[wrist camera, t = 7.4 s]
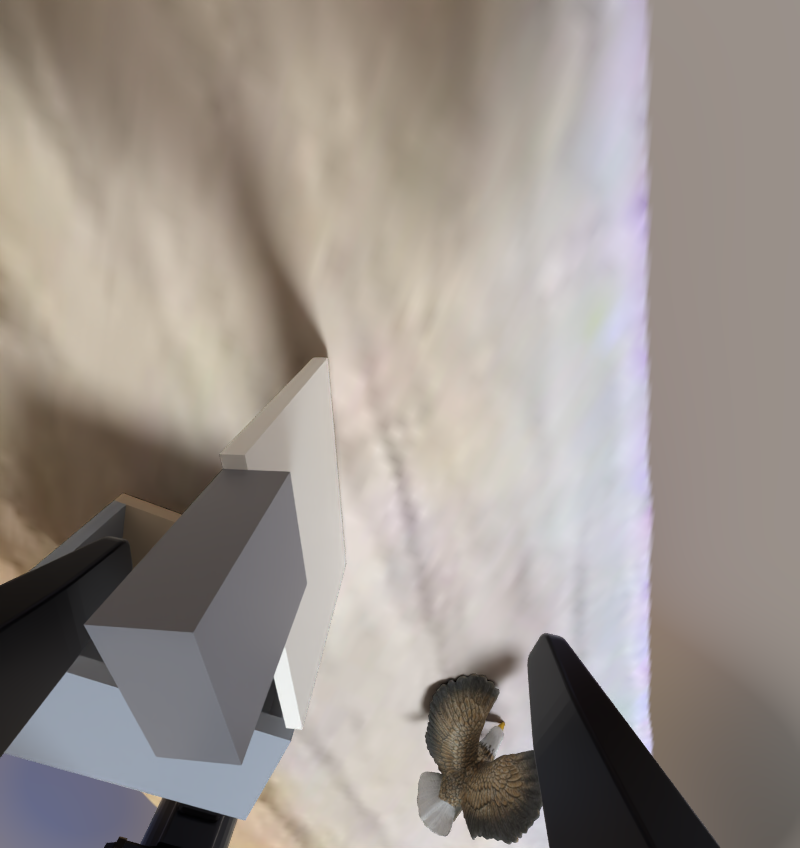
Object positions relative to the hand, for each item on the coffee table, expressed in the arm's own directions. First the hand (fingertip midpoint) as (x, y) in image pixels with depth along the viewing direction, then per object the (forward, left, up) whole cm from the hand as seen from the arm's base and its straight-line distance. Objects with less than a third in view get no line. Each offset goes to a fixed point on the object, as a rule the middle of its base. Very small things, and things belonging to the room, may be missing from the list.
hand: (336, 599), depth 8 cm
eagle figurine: (-19, -14, -10) cm, 26 cm away
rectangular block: (-4, +1, -9) cm, 10 cm away
